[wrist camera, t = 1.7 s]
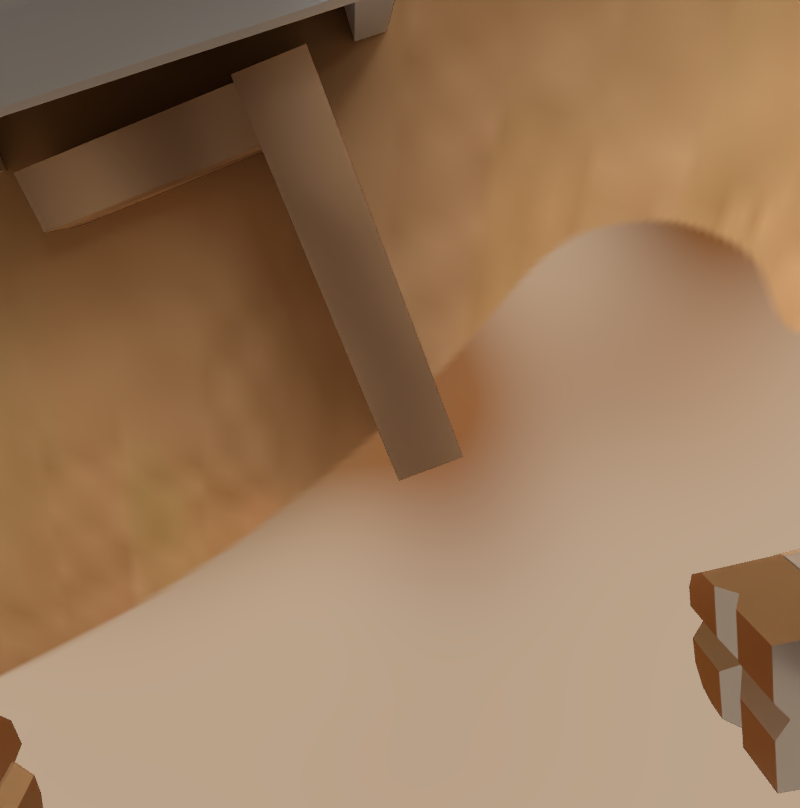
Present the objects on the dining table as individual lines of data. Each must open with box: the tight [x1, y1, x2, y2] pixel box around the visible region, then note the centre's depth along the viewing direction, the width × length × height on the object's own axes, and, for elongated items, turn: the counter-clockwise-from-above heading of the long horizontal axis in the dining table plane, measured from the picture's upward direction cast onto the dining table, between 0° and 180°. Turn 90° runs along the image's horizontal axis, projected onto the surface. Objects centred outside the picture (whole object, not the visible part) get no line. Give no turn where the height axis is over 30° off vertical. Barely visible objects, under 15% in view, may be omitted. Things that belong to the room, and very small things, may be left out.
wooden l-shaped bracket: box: [13, 44, 463, 480], centre depth 26 cm, size 10×14×5 cm
